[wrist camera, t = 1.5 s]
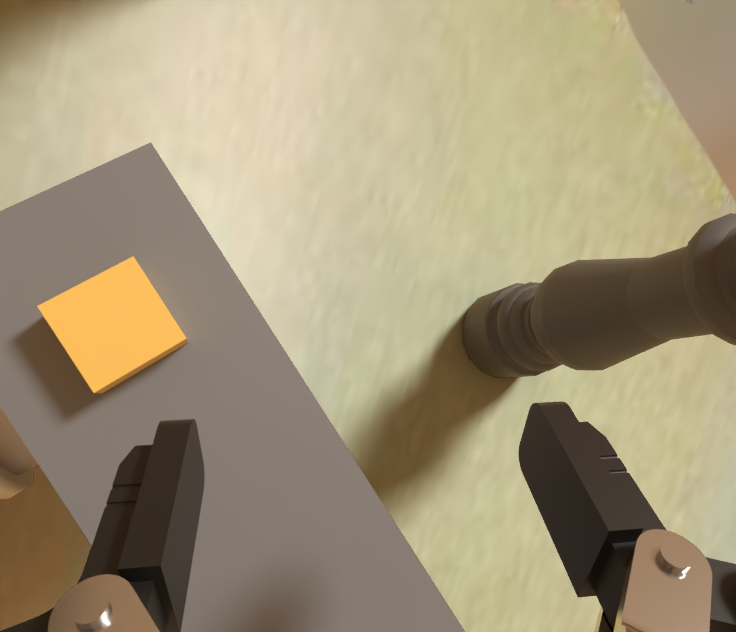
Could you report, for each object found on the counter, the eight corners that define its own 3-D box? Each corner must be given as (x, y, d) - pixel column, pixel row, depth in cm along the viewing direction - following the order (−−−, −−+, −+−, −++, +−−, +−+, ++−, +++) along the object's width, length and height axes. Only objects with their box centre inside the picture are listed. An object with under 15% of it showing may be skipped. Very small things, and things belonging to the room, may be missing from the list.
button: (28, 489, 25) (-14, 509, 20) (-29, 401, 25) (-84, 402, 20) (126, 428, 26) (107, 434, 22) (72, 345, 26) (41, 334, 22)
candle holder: (553, 325, 40) (1046, 217, 16) (514, 395, 38) (1000, 388, 15) (489, 275, 39) (908, 83, 15) (446, 344, 38) (843, 249, 14)
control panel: (262, 643, 32) (309, 904, 15) (55, 326, 31) (-123, 245, 15) (371, 554, 34) (513, 696, 18) (180, 258, 34) (146, 125, 17)
